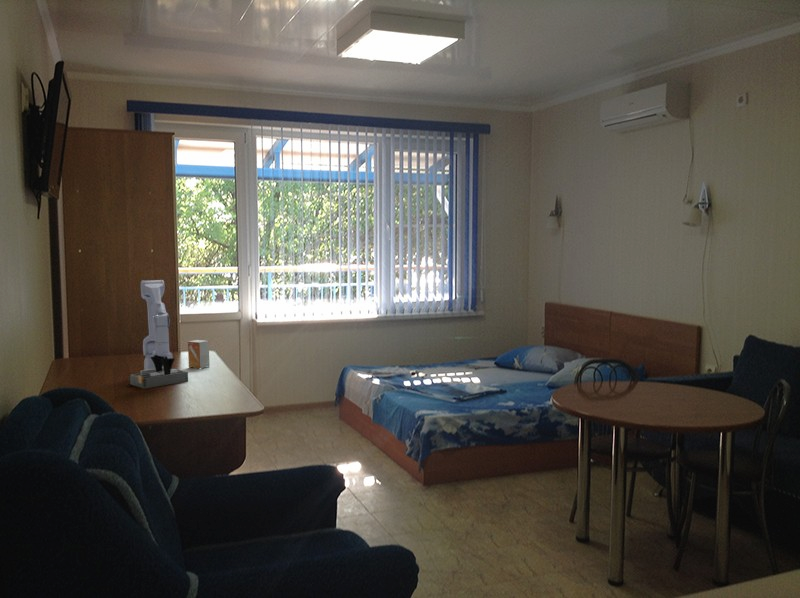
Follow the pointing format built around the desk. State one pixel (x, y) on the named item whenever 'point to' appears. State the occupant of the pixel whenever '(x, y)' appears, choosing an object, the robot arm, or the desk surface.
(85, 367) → the desk surface
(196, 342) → the small box
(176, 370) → the panel
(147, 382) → the rack
